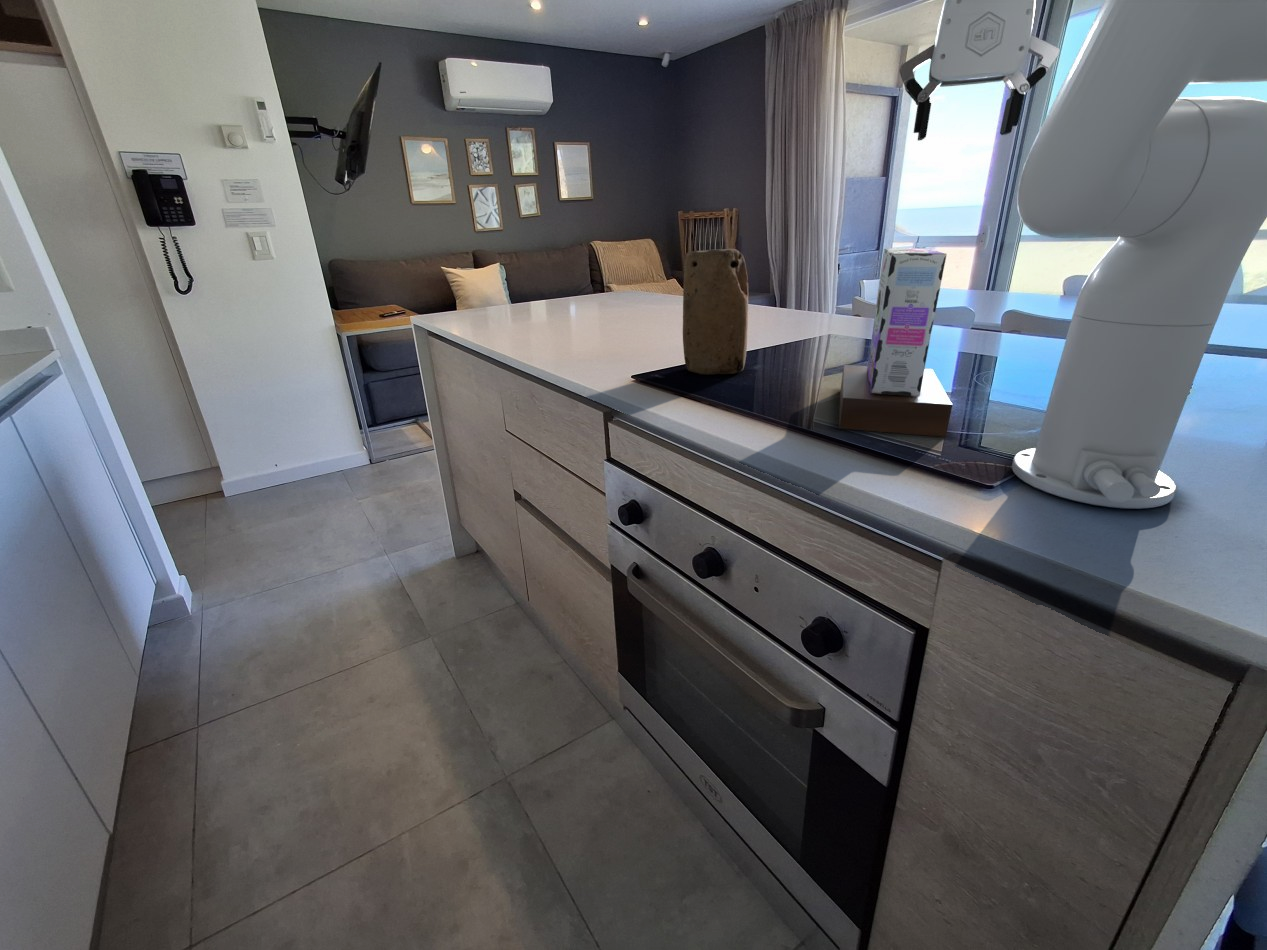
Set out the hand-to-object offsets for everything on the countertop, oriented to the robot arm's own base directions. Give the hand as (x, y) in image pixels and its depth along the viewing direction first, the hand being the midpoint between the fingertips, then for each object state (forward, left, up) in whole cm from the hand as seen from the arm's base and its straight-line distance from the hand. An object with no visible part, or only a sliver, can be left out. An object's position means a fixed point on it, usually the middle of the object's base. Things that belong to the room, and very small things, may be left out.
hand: (962, 136), depth 73 cm
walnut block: (-13, +5, -33) cm, 36 cm away
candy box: (-13, +5, -30) cm, 33 cm away
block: (+4, +32, -34) cm, 46 cm away
